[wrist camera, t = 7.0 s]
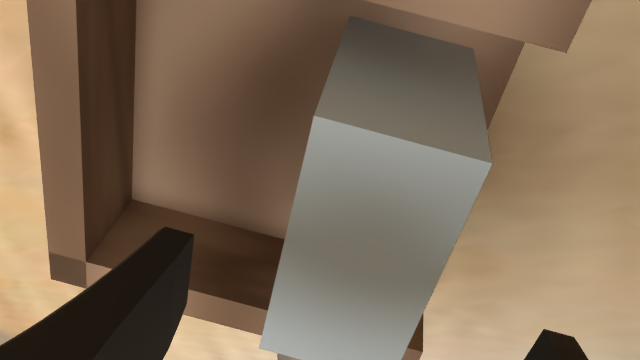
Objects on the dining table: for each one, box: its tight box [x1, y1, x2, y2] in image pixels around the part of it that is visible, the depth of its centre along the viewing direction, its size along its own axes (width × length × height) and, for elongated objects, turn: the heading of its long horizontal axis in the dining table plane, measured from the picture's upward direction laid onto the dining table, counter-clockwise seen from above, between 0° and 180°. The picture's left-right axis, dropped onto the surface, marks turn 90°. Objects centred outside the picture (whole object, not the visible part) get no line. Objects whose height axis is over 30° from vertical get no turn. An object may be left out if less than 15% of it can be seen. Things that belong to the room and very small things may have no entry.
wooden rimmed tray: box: [27, 0, 591, 360], centre depth 16 cm, size 12×12×5 cm
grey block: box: [259, 16, 492, 360], centre depth 15 cm, size 4×7×6 cm, turn 168°
